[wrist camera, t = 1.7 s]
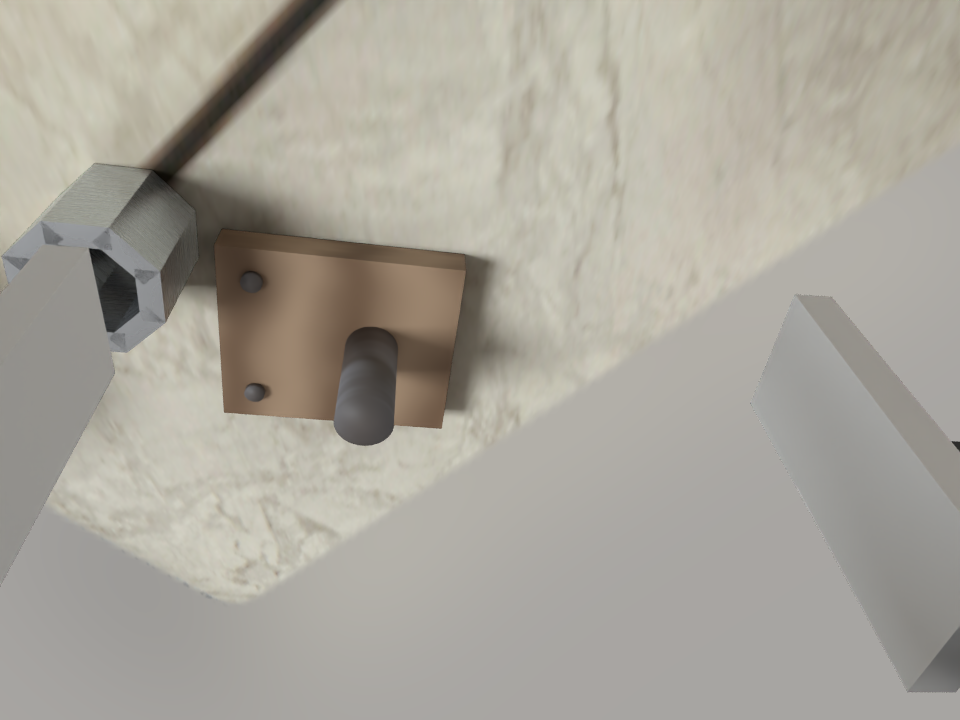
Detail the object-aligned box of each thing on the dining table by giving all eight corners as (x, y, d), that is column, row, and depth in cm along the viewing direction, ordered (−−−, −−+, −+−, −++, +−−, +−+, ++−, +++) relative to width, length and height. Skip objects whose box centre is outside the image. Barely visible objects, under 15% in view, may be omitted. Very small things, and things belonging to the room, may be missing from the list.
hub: (73, 276, 45) (22, 344, 39) (52, 158, 41) (-9, 215, 35) (201, 288, 46) (169, 356, 40) (192, 174, 42) (155, 232, 36)
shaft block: (230, 393, 50) (197, 491, 43) (221, 228, 44) (180, 313, 36) (441, 409, 52) (443, 506, 45) (464, 254, 45) (471, 339, 38)
